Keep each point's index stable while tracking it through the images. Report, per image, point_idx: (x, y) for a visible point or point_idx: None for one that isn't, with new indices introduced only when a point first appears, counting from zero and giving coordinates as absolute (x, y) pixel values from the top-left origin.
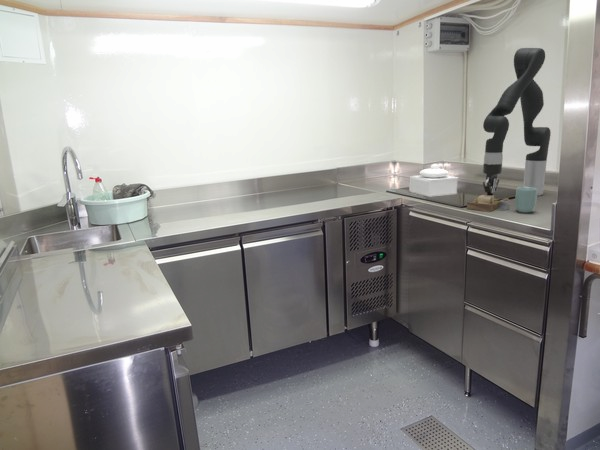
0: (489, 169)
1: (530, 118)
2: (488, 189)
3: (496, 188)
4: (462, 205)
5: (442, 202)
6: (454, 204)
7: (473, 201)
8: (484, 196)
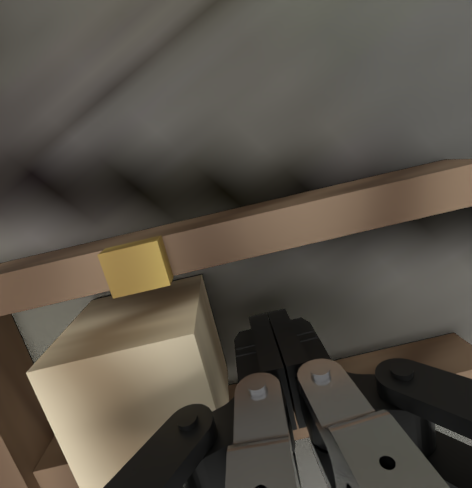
0: None
1: None
2: (278, 429)
3: (456, 456)
4: (59, 122)
5: None
6: (22, 10)
7: (62, 268)
8: (91, 425)
